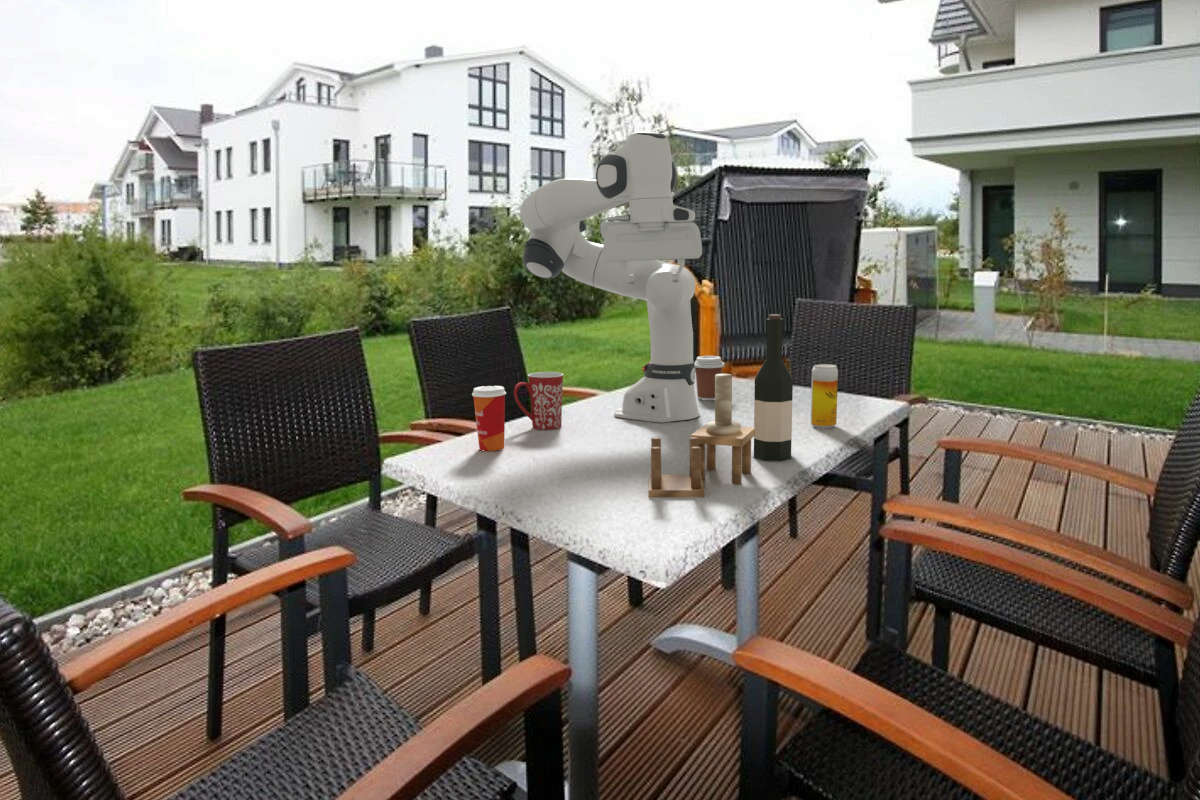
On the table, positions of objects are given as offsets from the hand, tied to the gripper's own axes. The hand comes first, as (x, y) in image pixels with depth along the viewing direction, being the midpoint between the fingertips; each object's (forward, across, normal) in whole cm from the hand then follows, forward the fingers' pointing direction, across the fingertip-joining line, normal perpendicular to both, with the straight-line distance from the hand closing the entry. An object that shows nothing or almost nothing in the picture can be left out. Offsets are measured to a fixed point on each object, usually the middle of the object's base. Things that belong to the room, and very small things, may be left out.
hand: (653, 282), depth 167 cm
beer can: (+38, +41, +26) cm, 62 cm away
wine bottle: (+38, +24, -1) cm, 45 cm away
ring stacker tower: (+28, +12, -15) cm, 34 cm away
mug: (+37, -29, +29) cm, 55 cm away
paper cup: (+37, -37, +8) cm, 53 cm away
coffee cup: (+38, +16, +64) cm, 76 cm away
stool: (+37, +12, -15) cm, 42 cm away
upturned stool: (+37, +3, -23) cm, 44 cm away
